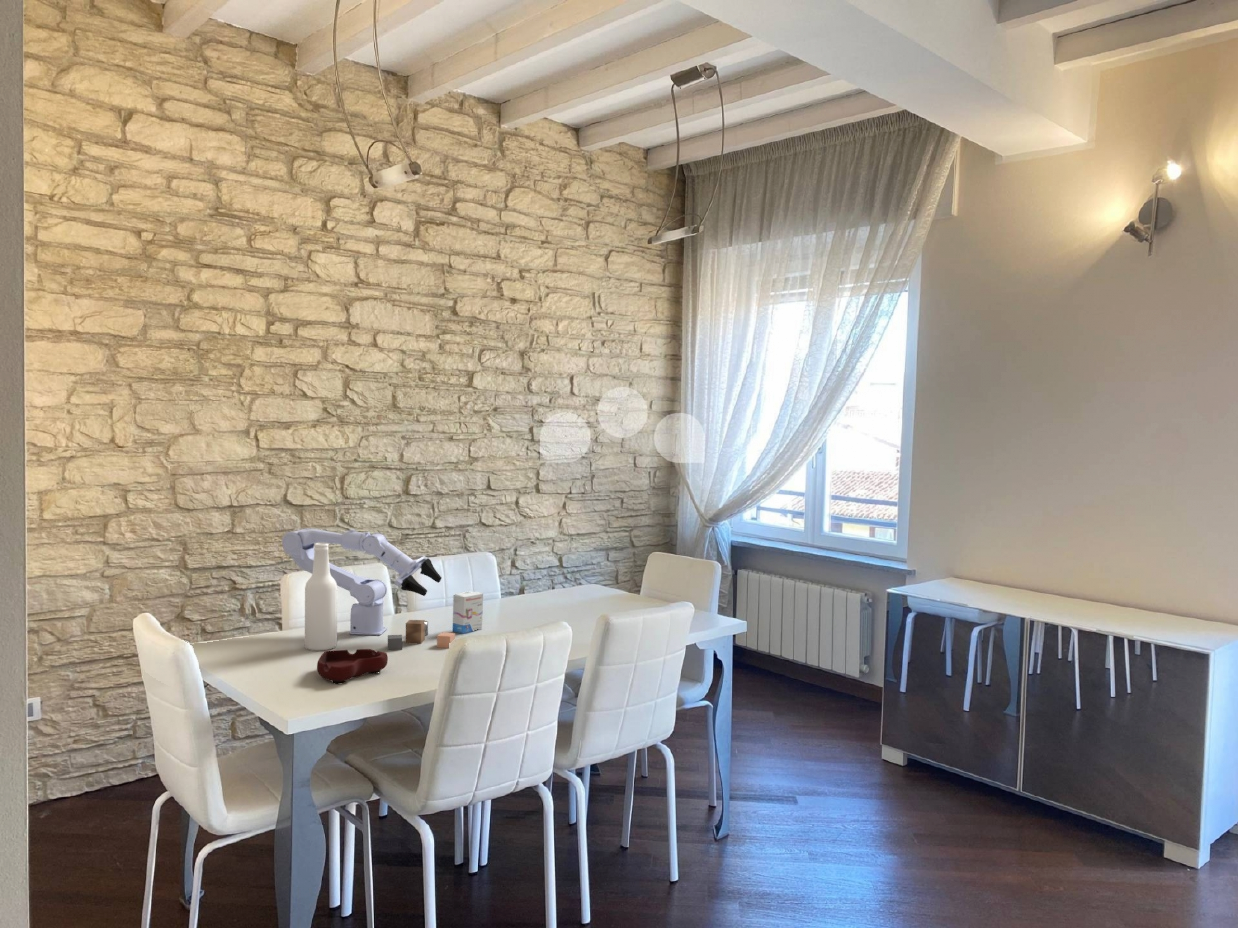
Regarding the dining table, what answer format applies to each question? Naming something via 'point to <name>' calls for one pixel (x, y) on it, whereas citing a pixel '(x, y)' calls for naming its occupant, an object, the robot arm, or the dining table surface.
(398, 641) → the charcoal rubber block
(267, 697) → the dining table surface
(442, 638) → the terracotta block
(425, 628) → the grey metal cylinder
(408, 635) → the walnut block
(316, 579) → the white bottle
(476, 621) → the ink box
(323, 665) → the ashtray
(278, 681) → the dining table surface
